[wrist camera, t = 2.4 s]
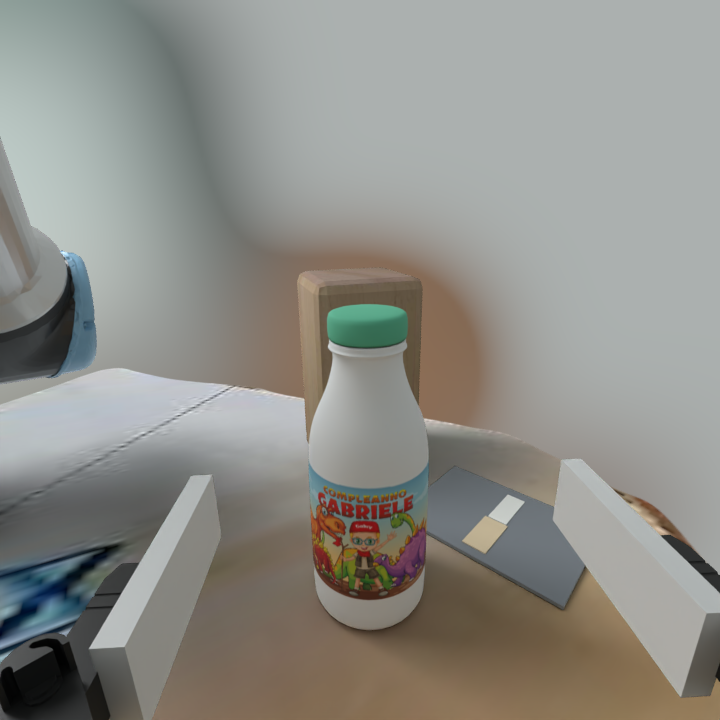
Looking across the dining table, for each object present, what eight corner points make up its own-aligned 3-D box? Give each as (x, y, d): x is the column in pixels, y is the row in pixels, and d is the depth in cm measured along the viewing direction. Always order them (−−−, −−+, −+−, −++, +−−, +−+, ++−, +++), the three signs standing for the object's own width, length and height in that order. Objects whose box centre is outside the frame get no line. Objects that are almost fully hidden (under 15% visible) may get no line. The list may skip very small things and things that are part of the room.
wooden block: (385, 430, 52) (386, 266, 46) (420, 474, 43) (427, 277, 37) (305, 443, 49) (295, 270, 43) (324, 493, 40) (314, 283, 34)
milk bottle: (312, 552, 33) (296, 300, 27) (406, 539, 34) (413, 295, 28) (320, 644, 26) (301, 330, 19) (439, 624, 27) (458, 321, 21)
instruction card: (396, 516, 37) (396, 512, 37) (454, 468, 44) (454, 465, 44) (563, 610, 28) (564, 605, 28) (603, 530, 35) (604, 526, 35)
